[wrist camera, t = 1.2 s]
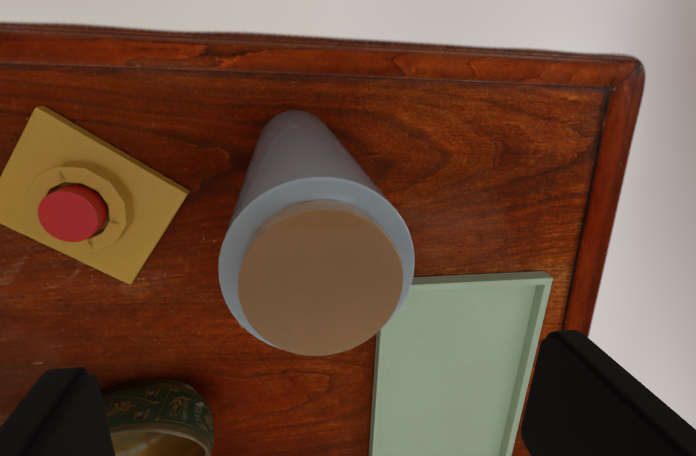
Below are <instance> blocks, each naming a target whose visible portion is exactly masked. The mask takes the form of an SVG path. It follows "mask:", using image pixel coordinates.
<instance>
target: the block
mask: <svg viewBox="0 0 696 456" xmlns="http://www.w3.org/2000/svg"><path fill="white" fill-rule="evenodd" d="M68 185H79V186H83V187H86V188H89V189H91V190H92V191H94V192H95V193H97V194H98V195H99V196H100V197H101V199H102V200H103V202H104V204H105V206H106V209H107V218H106V221H105V223H104V225H103V226H102V227H101V228H100V229H99V230H98V231H97V232H96V233H94V234H93V235H92V236H91V237H90V238H88V239H86V240H84V241H80V242H66V241H62V240H59V239H57V238H55V237H53V236H52V235H50V234H49V233H48V232H47V231H46V230H45V229H44V228H43V227H42V225H41V223H40V221H39V218H38V207H39V204H40V202H41V201H42V199H43V198H44V197H45V196H47V195H48V194H50V193H52V192H54V191H56V190H58V189H60V188H62V187H64V186H68ZM189 192H190V191H189V190H188V189H186V188H184V187H183V186H181V185H179V184H178V183H176V182H174V181H172V180H171V179H169V178H167V177H166V176H164V175H162V174H160V173H159V172H157V171H155V170H154V169H152V168H150V167H148V166H147V165H145V164H143V163H141V162H140V161H138V160H136V159H135V158H133V157H131V156H129V155H128V154H126V153H124V152H123V151H121V150H119V149H117V148H116V147H114V146H112V145H111V144H109V143H107V142H105V141H104V140H102V139H100V138H98V137H97V136H95V135H93V134H92V133H90V132H88V131H86V130H85V129H83V128H81V127H80V126H78V125H76V124H74V123H73V122H71V121H69V120H68V119H66V118H64V117H62V116H61V115H59V114H57V113H55V112H54V111H52V110H50V109H49V108H47V107H45V106H40V107H36V108H35V109H34V111H33V113H32V115H31V117H30V119H29V121H28V123H27V125H26V127H25V129H24V131H23V133H22V135H21V137H20V139H19V141H18V143H17V145H16V147H15V149H14V151H13V153H12V155H11V157H10V159H9V161H8V163H7V165H6V167H5V169H4V171H3V173H2V175H1V177H0V224H2V225H5V226H7V227H9V228H11V229H13V230H15V231H17V232H19V233H21V234H24V235H26V236H28V237H30V238H32V239H34V240H36V241H38V242H40V243H43V244H45V245H47V246H49V247H51V248H53V249H55V250H57V251H59V252H62V253H64V254H66V255H68V256H70V257H72V258H74V259H76V260H78V261H81V262H83V263H85V264H87V265H89V266H91V267H93V268H95V269H97V270H100V271H102V272H104V273H106V274H108V275H110V276H112V277H114V278H116V279H118V280H121V281H123V282H125V283H127V284H129V285H131V284H132V282H133V281H134V280H135V278H136V276H137V275H138V273H139V272H140V270H141V268H142V267H143V265H144V264H145V262H146V261H147V259H148V257H149V256H150V254H151V253H152V251H153V249H154V248H155V246H156V245H157V243H158V241H159V240H160V238H161V237H162V235H163V233H164V232H165V230H166V229H167V227H168V225H169V224H170V222H171V221H172V219H173V217H174V216H175V214H176V213H177V211H178V209H179V208H180V206H181V205H182V203H183V202H184V200H185V198H186V197H187V195H188V194H189Z"/></svg>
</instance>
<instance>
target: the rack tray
mask: <svg viewBox="0 0 696 456" xmlns="http://www.w3.org/2000/svg"><path fill="white" fill-rule="evenodd" d="M552 280H553V278H552V277H551V276H550V275H548V274H547V273H546V272H545V271H535V272H514V273H493V274H472V275H451V276H430V277H413V279H412V283H411V286H410V289H409V291H408V294H407V297H406V298H405V300H404V302H403V304H402V306H401V307H400V309H399V310H398V311H397V313H396V314H395V315H394V317H393V318H392V319H391V320H390V321H389V322H388V323H387V324H386V325H385V326H384V327H383V328H381V330H380V331H378V332H377V334H376V350H375V365H374V381H373V396H372V412H371V428H370V443H369V456H511V455H512V450H513V446H514V442H515V438H516V433H517V429H518V425H519V421H520V417H521V412H522V408H523V404H524V400H525V395H526V391H527V387H528V383H529V378H530V374H531V370H532V366H533V361H534V357H535V353H536V349H537V344H538V340H539V336H540V332H541V327H542V323H543V319H544V315H545V310H546V306H547V302H548V298H549V293H550V289H551V284H552Z"/></svg>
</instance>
